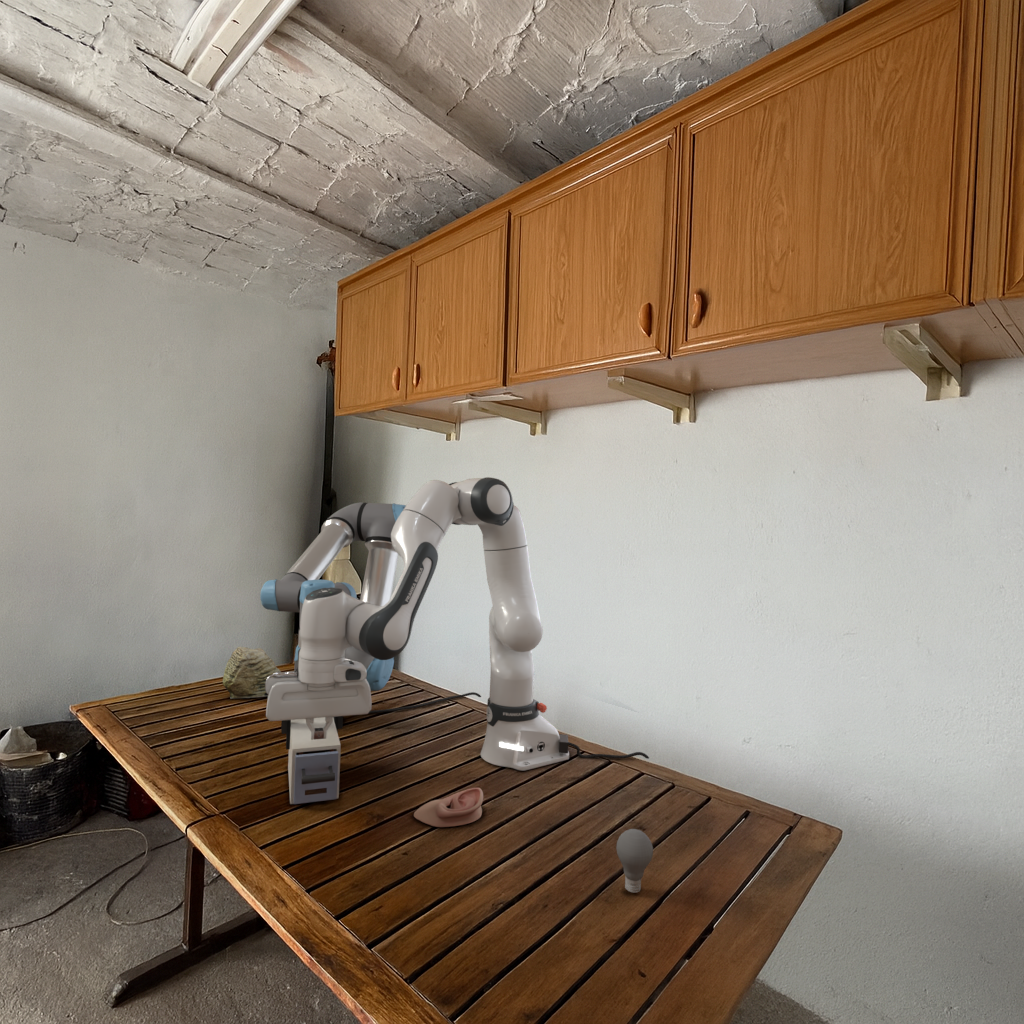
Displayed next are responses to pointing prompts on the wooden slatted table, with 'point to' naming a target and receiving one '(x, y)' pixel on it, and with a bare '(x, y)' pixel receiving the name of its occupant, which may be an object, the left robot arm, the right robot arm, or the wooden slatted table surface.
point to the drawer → (315, 776)
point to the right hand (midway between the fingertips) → (318, 738)
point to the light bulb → (634, 857)
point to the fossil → (248, 673)
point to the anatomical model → (452, 809)
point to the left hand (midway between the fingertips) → (311, 744)
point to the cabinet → (310, 745)
